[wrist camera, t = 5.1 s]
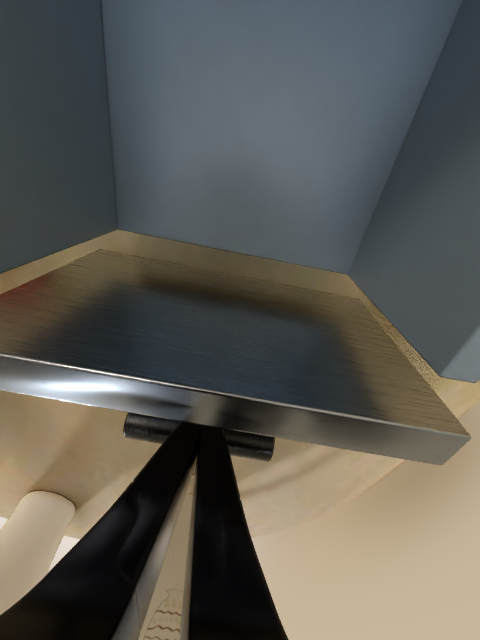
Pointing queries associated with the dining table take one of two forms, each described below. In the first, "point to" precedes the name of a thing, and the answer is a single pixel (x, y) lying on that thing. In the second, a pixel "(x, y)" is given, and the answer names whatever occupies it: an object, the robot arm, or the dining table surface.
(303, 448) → the dining table surface
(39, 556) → the cup
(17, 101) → the drawer
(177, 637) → the mug
